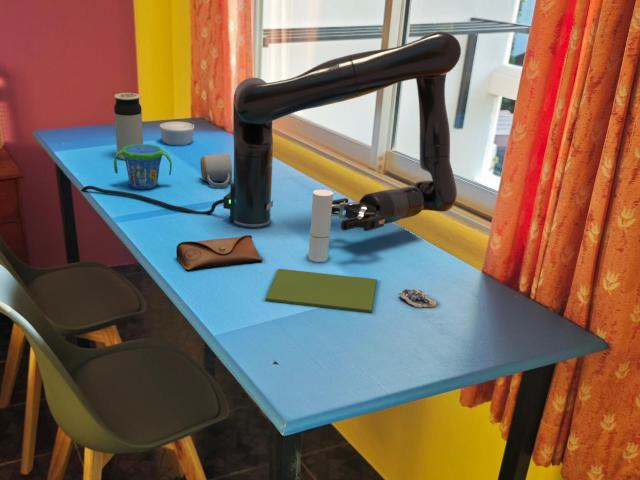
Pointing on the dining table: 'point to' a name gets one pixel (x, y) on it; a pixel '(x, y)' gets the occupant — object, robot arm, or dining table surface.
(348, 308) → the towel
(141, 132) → the travel mug
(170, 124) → the ramekin
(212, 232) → the dining table surface
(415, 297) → the rough mineral rock
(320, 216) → the tube
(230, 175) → the ceramic mug
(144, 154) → the snack cup
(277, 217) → the dining table surface
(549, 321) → the dining table surface
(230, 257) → the sunglasses case
